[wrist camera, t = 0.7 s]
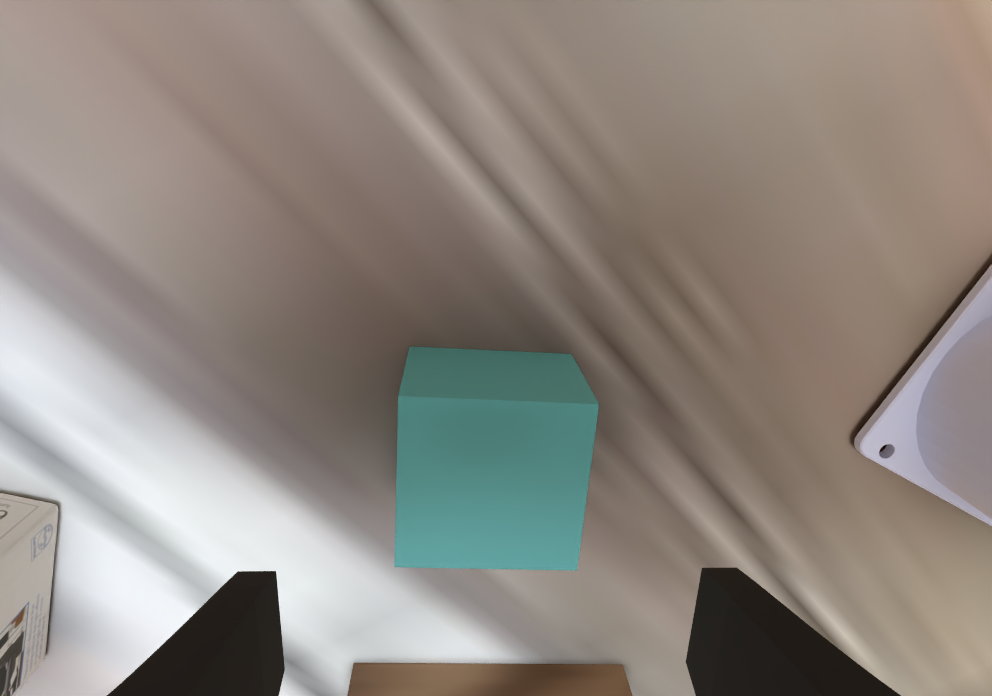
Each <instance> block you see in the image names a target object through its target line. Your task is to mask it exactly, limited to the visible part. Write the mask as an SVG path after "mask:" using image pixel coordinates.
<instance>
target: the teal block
mask: <svg viewBox="0 0 992 696" xmlns="http://www.w3.org/2000/svg"><path fill="white" fill-rule="evenodd" d="M598 409H599V403H598V401H597V399H596V398H595V396H594V394H593V392H592V390H591V388H590V387H589V385H588V383H587V381H586V379H585V378H584V376H583V374H582V372H581V370H580V368H579V367H578V365H577V363H576V361H575V359H574V357H573V356H572V354H562V353H541V352H519V351H498V350H476V349H454V348H433V347H411V346H410V347H409V351H408V355H407V360H406V364H405V369H404V373H403V378H402V382H401V386H400V391H399V395H398V431H397V476H396V522H395V567H416V568H472V569H528V570H577V566H578V559H579V551H580V544H581V536H582V529H583V521H584V514H585V507H586V499H587V492H588V484H589V477H590V469H591V462H592V454H593V447H594V439H595V432H596V424H597V417H598Z"/></svg>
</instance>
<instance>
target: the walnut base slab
mask: <svg viewBox="0 0 992 696" xmlns="http://www.w3.org/2000/svg"><path fill="white" fill-rule="evenodd" d="M348 696H632V693H631V690H630V687H629V683H628V680H627V677H626V674H625V671H624V668H623V665H595V664H451V663H354V665H353V670H352V675H351V680H350V685H349V691H348Z"/></svg>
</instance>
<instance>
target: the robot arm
mask: <svg viewBox="0 0 992 696" xmlns="http://www.w3.org/2000/svg"><path fill="white" fill-rule="evenodd" d="M854 445H855V448H856V450H858V451H859V452H860V453H861V454H862V455H864V456H865V457H867V458H869V459H870V460H872V461H874V462H876V463H878V464H880V465H881V466H883V467H885V468H887V469H889V470H890V471H892V472H894V473H896V474H898V475H900V476H901V477H903V478H905V479H907V480H909V481H910V482H912V483H914V484H916V485H918V486H920V487H921V488H923V489H925V490H927V491H929V492H930V493H932V494H934V495H936V496H938V497H940V498H941V499H943V500H945V501H947V502H949V503H950V504H952V505H954V506H956V507H958V508H960V509H961V510H963V511H965V512H967V513H969V514H970V515H972V516H974V517H976V518H978V519H980V520H981V521H983V522H985V523H987V524H989V525H990V526H992V264H991V266H990V267H989V268H988V269H987V271H986V272H985V273H984V274H983V276H982V277H981V278H980V280H979V281H978V282H977V283H976V285H975V286H974V287H973V288H972V290H971V291H970V292H969V293H968V295H967V296H966V297H965V299H964V300H963V301H962V302H961V304H960V305H959V306H958V307H957V309H956V310H955V311H954V312H953V314H952V315H951V316H950V318H949V319H948V320H947V321H946V323H945V324H944V325H943V326H942V328H941V329H940V330H939V331H938V333H937V334H936V335H935V337H934V338H933V339H932V340H931V342H930V343H929V344H928V345H927V347H926V348H925V349H924V350H923V352H922V353H921V354H920V356H919V357H918V358H917V359H916V361H915V362H914V363H913V364H912V366H911V367H910V368H909V369H908V371H907V372H906V373H905V375H904V376H903V377H902V378H901V380H900V381H899V382H898V383H897V385H896V386H895V387H894V388H893V390H892V391H891V392H890V393H889V395H888V396H887V397H886V399H885V400H884V401H883V402H882V404H881V405H880V406H879V407H878V409H877V410H876V411H875V412H874V414H873V415H872V416H871V418H870V419H869V420H868V421H867V423H866V424H865V425H864V426H863V428H862V429H861V430H860V431H859V433H858V434H857V436H856V438H855V441H854ZM884 445H887V446H886V448H885V449H884V450H883V451H882V452H879V451H880V449H881V447H883V446H884ZM686 664H687V667H688V671H689V674H690V677H691V681H692V684H693V687H694V691H695V694H696V696H901V695H899V694H898V693H896V692H895V691H894V690H892V689H891V688H889V687H888V686H887V685H885V684H884V683H883V682H881V681H880V680H878V679H877V678H876V677H874V676H873V675H872V674H871V673H869V672H868V671H867V670H865V669H864V668H863V667H861V666H860V665H859V664H857V663H856V662H855V661H853V660H852V659H851V658H850V657H848V656H847V655H846V654H844V653H843V652H842V651H840V650H839V649H838V648H837V647H835V646H834V645H833V644H832V643H830V642H829V641H828V640H827V639H825V638H824V637H823V636H822V635H820V634H819V633H818V632H817V631H815V630H814V629H813V628H812V627H810V626H809V625H808V624H807V623H805V622H804V621H803V620H802V619H800V618H799V617H798V616H797V615H795V614H794V613H793V612H792V611H791V610H789V609H788V608H787V607H786V606H784V605H783V604H782V603H781V602H779V601H778V600H777V599H776V598H775V597H773V596H772V595H771V594H770V593H768V592H767V591H766V590H765V589H763V588H762V587H761V586H760V585H758V584H757V583H756V582H755V581H753V580H752V579H751V578H750V577H748V576H747V575H746V574H744V573H743V572H742V571H740V570H739V569H738V568H702V572H701V577H700V583H699V589H698V595H697V600H696V606H695V612H694V618H693V624H692V629H691V635H690V641H689V647H688V652H687V658H686ZM284 670H285V669H284V657H283V646H282V635H281V623H280V612H279V601H278V590H277V578H276V571H247V572H237V573H236V574H235V575H234V576H233V577H232V578H231V579H229V580H228V581H227V582H226V583H225V584H224V585H223V586H222V587H221V588H220V589H219V590H218V591H217V592H216V593H215V594H214V595H213V596H212V597H211V598H210V599H209V600H208V601H207V602H206V603H205V604H204V605H203V606H202V607H201V608H200V609H199V610H198V611H197V612H196V613H195V614H194V615H193V616H192V617H191V618H190V619H189V620H188V621H187V622H186V623H185V624H184V625H183V626H182V627H180V628H179V629H178V630H177V631H176V632H175V633H174V634H173V635H172V636H171V637H170V638H169V639H168V640H167V641H166V642H165V643H164V644H163V645H162V646H161V647H160V648H159V649H157V650H156V651H155V652H154V653H153V654H152V655H151V656H150V657H149V658H148V659H147V660H146V661H145V662H144V663H143V664H142V665H140V666H139V667H138V668H137V669H136V670H135V671H134V672H133V673H132V674H131V675H130V676H129V677H128V678H126V679H125V680H124V681H123V682H122V683H121V684H120V685H119V686H117V687H116V688H115V689H114V690H113V691H112V692H111V693H109V694H108V695H107V696H278V695H279V691H280V687H281V683H282V678H283V674H284Z"/></svg>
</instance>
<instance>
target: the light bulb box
mask: <svg viewBox="0 0 992 696" xmlns="http://www.w3.org/2000/svg"><path fill="white" fill-rule="evenodd" d="M57 521H58V506H57V505H56V504H52V503H48V502H43V501H38V500H33V499H28V498H23V497H18V496H14V495H9V494H3V493H0V696H15V695H16V693H17V692H18V691H19V690H20V689H21V687H22V686H23V685H24V684H25V682H26V681H27V680H28V679H29V677H30V676H31V675H32V674H33V672H34V671H35V670H36V669H37V668H38V666H39V665H40V664H41V662H42V661H43V660H44V658H45V652H46V643H47V631H48V620H49V608H50V597H51V587H52V576H53V565H54V554H55V544H56V534H57Z"/></svg>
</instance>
